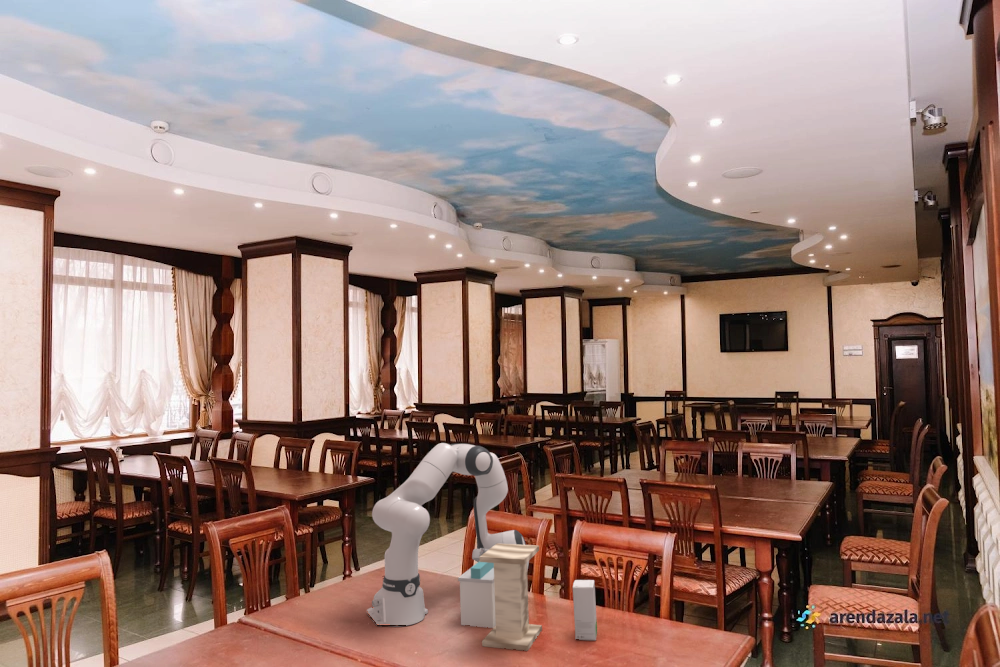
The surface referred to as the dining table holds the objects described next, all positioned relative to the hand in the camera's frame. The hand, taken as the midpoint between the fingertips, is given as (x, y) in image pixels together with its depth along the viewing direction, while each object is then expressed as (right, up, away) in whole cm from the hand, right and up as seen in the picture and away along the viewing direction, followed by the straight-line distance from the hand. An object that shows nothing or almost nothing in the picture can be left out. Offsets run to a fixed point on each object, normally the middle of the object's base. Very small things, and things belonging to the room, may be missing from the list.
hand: (494, 550), depth 230 cm
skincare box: (+28, -17, -28) cm, 43 cm away
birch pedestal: (+6, -17, -29) cm, 34 cm away
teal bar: (-2, -4, -6) cm, 7 cm away
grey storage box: (-3, -18, -11) cm, 22 cm away
